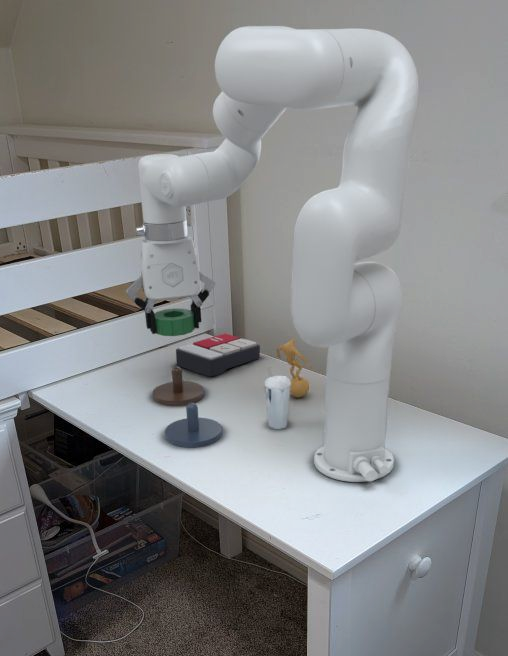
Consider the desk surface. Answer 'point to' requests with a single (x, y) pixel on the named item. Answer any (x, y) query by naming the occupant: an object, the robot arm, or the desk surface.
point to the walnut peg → (178, 391)
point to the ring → (174, 322)
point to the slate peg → (193, 430)
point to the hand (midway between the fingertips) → (174, 328)
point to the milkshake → (277, 400)
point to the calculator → (217, 354)
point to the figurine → (297, 383)
